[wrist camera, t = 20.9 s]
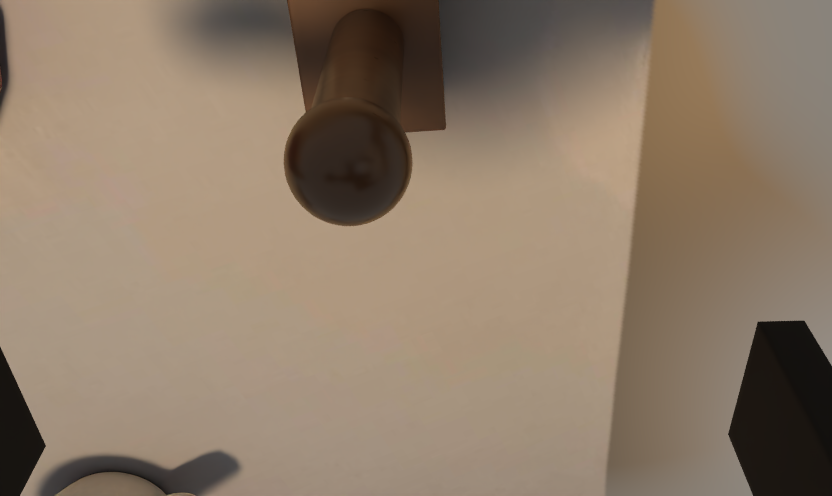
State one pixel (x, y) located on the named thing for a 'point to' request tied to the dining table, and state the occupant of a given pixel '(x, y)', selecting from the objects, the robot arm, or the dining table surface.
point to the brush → (361, 102)
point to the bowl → (0, 81)
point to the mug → (114, 486)
